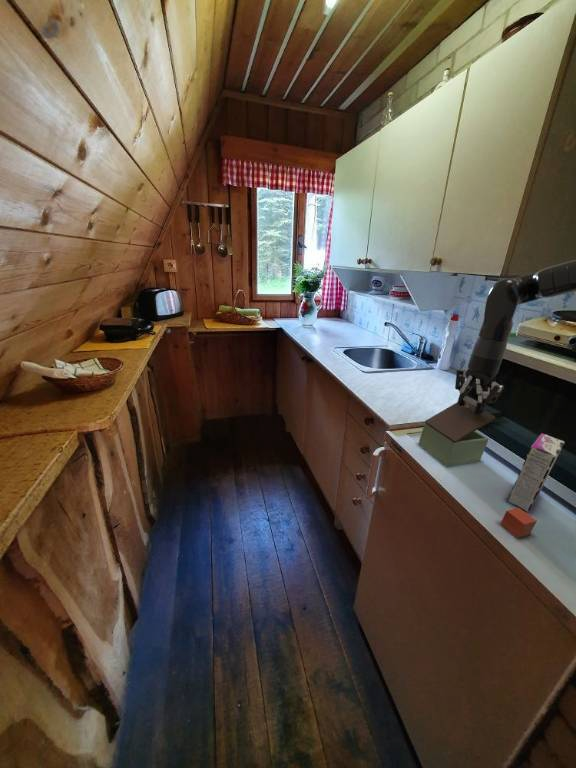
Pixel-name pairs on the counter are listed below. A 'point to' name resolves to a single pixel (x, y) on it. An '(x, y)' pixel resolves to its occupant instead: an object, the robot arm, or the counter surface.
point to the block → (518, 522)
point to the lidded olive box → (453, 447)
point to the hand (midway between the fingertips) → (468, 409)
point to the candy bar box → (535, 471)
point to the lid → (459, 420)
